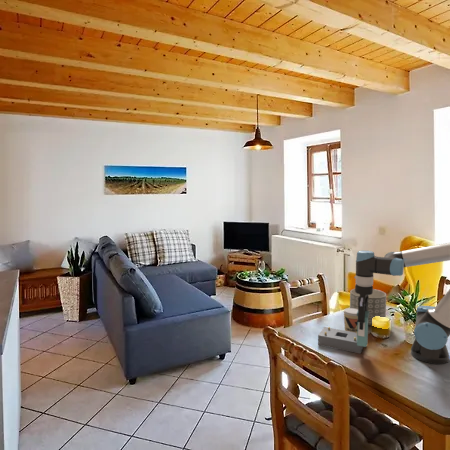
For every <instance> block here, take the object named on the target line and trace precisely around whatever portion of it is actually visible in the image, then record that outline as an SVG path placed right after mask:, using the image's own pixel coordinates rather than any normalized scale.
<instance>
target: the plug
mask: <svg viewBox="0 0 450 450" xmlns="http://www.w3.org/2000/svg"><path fill="white" fill-rule="evenodd" d="M369 313H370V311H365V336H364V337H363V336H358V326H357V345H358V346H363V348H367V346H368V338H369V336H368V334H369V326H368V317H369ZM357 316H358V311H357Z"/></svg>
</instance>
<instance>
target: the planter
mask: <svg viewBox="0 0 450 450" xmlns="http://www.w3.org/2000/svg"><path fill="white" fill-rule="evenodd" d="M359 296H360V294H357V293H356V292H355V288H353V289H351V290H350V293H349V297H350V298H349V308H355V309H358V297H359ZM368 296H369V300H368V311H370V313H369V317H368V327H372V326H371V325H372V318H373V317H375V316H380V317H387V314H386V313H387V293H386V292H384V291H382V290H380V289H375V288H373V293H372V294H371V295H368Z"/></svg>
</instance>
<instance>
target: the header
mask: <svg viewBox="0 0 450 450" xmlns="http://www.w3.org/2000/svg"><path fill="white" fill-rule="evenodd" d="M317 345H318V346H321V347H322V346H323V347H326V348H333V349H337V350H341V351H347V352H351V353H356V354H361V353H362V351H363V348H364V347H363V346H358V345H357V333H355V332H350V331H345V329H344V330H343V329H336V328H333V327H330V326H328V327H327V326H324V327H323V328H322V330H321V331H320V332H319V333H318V336H317Z"/></svg>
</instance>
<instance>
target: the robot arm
mask: <svg viewBox="0 0 450 450" xmlns="http://www.w3.org/2000/svg"><path fill="white" fill-rule="evenodd" d="M448 261H450V242H445V243H441V244H434V245H429V246H424V247H419V248H412V249H407V250H402V251H401V250H400V251H390V252H387V253H385V255H384V256H377V255H376V256H375V252H374V251H372V250H359V251H357V252H356V260H355V276H354V277H353V278H354V279H355V284H354V285H355V286H354V289H355V292H356V293H357V294H360V296H359V297H358V320H357V322H358V336H363V337H364V336H365V311H368V300H369V296H368V295H371V294H372V293H373V289H374V286H373V285H374V274H379V275H387V276H399V277H401V276H403V275H404V268H409V267H416V266H422V265H428V264H435V263H441V262H448ZM415 313H416V318H415V319H416V320H415V326H414V330H413V335H414V337H415V339H414V341H413V343H412V346H411V348H410V354H411V356H413V358H415V359H417V360H420V361H421V362H424V363H429V364H435V365H443V364H446V363H449V361H450V353H449V351H448V350H449V349H448V347H447V343H448V338H449V337H450V288H449V289H448V291H447V292H446V293H445V294H444V296H443V297H442V298H441V299H440V300H439V302H438V303H437V304H436V306H431V305H419V306H417V307H416V311H415Z"/></svg>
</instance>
